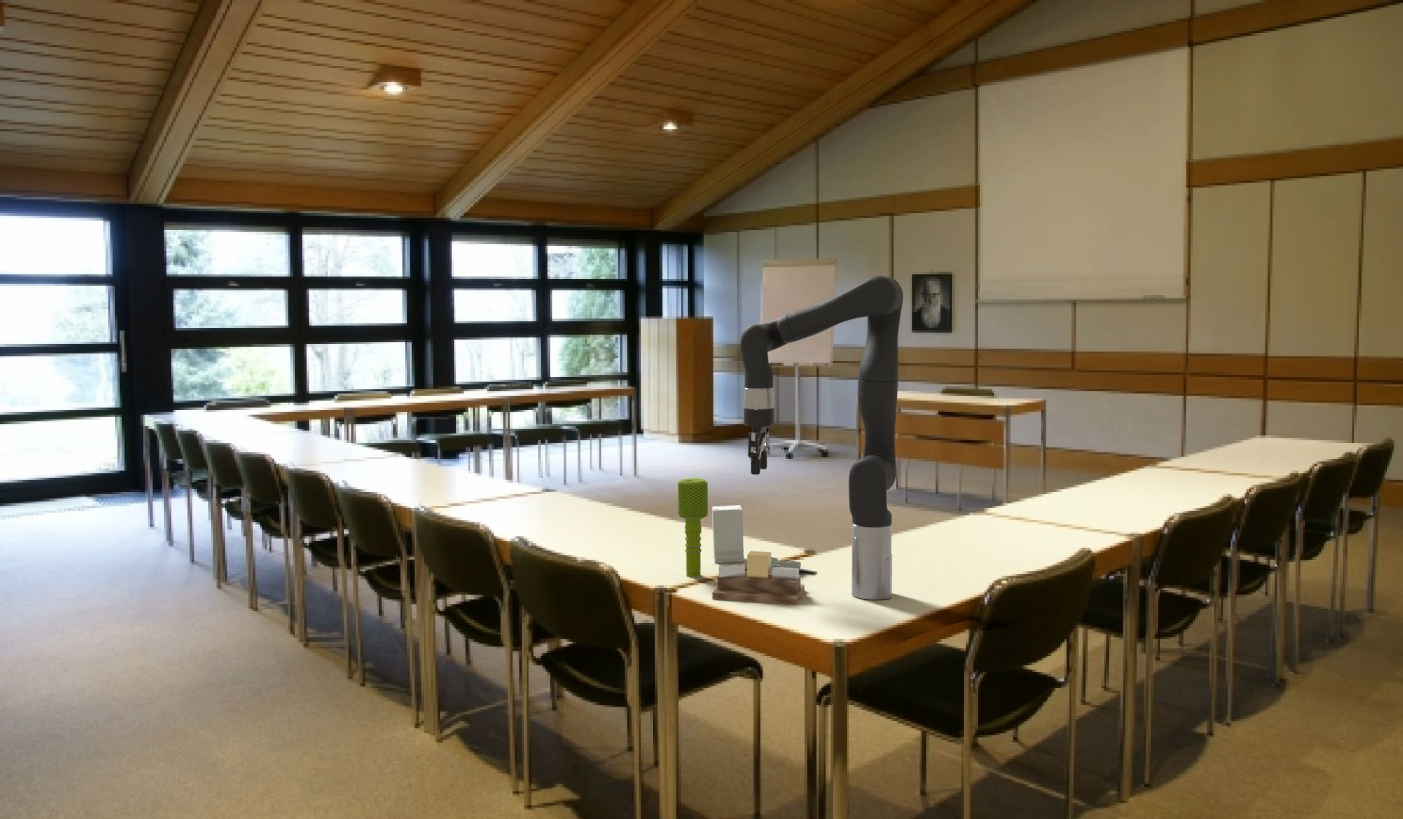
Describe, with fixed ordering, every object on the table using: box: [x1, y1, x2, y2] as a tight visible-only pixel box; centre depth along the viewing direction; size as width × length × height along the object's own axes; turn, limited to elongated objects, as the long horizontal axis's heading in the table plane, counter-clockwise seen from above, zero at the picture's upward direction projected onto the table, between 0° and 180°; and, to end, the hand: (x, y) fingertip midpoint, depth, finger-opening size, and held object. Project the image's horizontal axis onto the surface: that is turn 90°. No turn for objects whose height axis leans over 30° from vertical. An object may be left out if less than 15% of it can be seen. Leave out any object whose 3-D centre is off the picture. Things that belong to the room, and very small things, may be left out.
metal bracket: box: [771, 556, 818, 574], centre depth 262 cm, size 14×6×15 cm
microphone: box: [677, 477, 709, 578], centre depth 259 cm, size 8×8×25 cm
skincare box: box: [711, 504, 745, 564], centre depth 275 cm, size 8×6×15 cm
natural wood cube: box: [746, 550, 772, 579], centre depth 241 cm, size 5×4×6 cm
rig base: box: [711, 571, 806, 605], centre depth 241 cm, size 20×12×4 cm, turn 75°
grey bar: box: [718, 564, 800, 580], centre depth 240 cm, size 19×4×2 cm, turn 75°
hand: (759, 471), depth 249 cm, fingers open, 8 cm apart
